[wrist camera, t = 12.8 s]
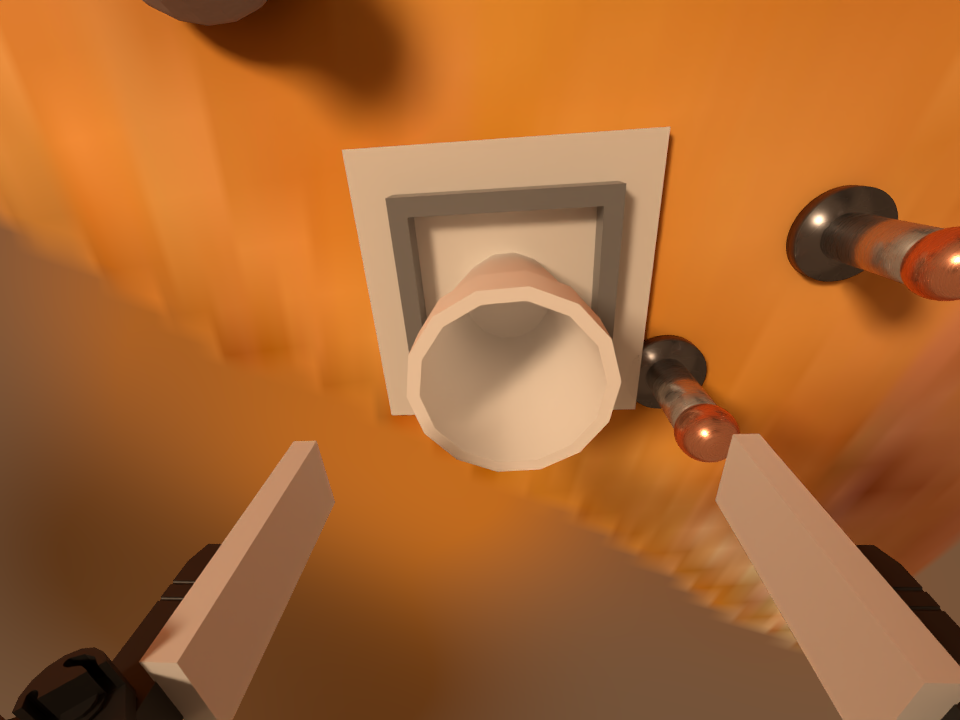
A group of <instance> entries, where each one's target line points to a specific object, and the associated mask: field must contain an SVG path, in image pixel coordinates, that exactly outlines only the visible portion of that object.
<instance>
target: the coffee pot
mask: <svg viewBox="0 0 960 720" xmlns="http://www.w3.org/2000/svg"><path fill="white" fill-rule="evenodd" d="M143 1H144V2H145V3H146V4H148V5H149V6H151V7H153V8H155V9H157V10H159V11H161V12H163V13H165V14H167V15H169V16H171V17H173V18H175V19H177V20H180V21H185V22H191V23H196V24H202V25H207V26H211V25H217V24H224V23H231V22H237V21H239V20H240V19H242V18H244V17H246V16H247V15H249V14H251V13H253V12H255V11H256V10H258V9H260V8H261V7H262V6H263V5H264V4H265V3H266V2H267V0H143Z"/></svg>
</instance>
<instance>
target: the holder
mask: <svg viewBox="0 0 960 720" xmlns="http://www.w3.org/2000/svg"><path fill="white" fill-rule="evenodd" d="M669 134H670V127H658V128H644V129H630V130H616V131H602V132H588V133H573V134H559V135H545V136H531V137H517V138H503V139H489V140H474V141H460V142H446V143H432V144H418V145H404V146H390V147H375V148H361V149H347V150H342V153H343V158H344V164H345V169H346V174H347V180H348V185H349V190H350V196H351V201H352V206H353V211H354V217H355V222H356V227H357V233H358V238H359V243H360V249H361V254H362V259H363V265H364V270H365V275H366V281H367V286H368V291H369V296H370V302H371V307H372V312H373V318H374V323H375V328H376V334H377V339H378V344H379V350H380V355H381V360H382V365H383V371H384V376H385V381H386V387H387V392H388V397H389V403H390V408H391V413H392V415H415V413H414V411H413V409H412V407H411V405H410V403H409V401H408V399H407V374H408V355H409V353H410V351H411V348H412V346H413V344H414V342H415V339H416V337H417V335H418V333H419V331H420V330H421V328H422V326H423V325H424V323H425V322H426V320H427V318H428V317H429V315H430V313H431V312H432V310H433V309H434V307H435V305H436V304H437V302H438V300H439V299H440V298H441V297H443V296H445V295H446V294H448V293H450V292H451V291H453V290H454V289H455V287H456V286H457V285H458V284H459V283H460V282H461V281H462V280H463V279H464V277H465V276H466V275H467V274H468V273H469V272H470V271H471V270H472V269H473V267H474V266H475V265H476V264H478V263H480V262H481V261H483V260H485V259H486V258H488V257H489V256H491V255H493V254H497V253H507V252H516V253H519V254H522V255H524V256H527V257H530V258H533V259H534V260H536V261H537V262H538V263H539V264H540V265H541V266H542V267H543V268H544V269H545V270H547V271H548V272H549V273H550V274H551V275H552V276H553V277H554V278H555V279H556V280H557V281H558V282H560V283H562V284H565V285H568V286H570V287H571V288H572V289H573V290H574V291H575V292H576V293H577V294H578V295H579V296H580V297H581V298H582V300H583V301H584V302H585V303H586V304H587V305H588V306H589V307H590V308H591V309H592V310H593V311H594V313H595V314H596V315H597V316H598V317H599V318H600V319H601V321H602V323H603V325H604V326H605V328H606V330H607V332H608V333H609V335H610V337H611V339H612V342H613V347H614V351H615V355H616V360H617V364H618V369H619V373H620V377H621V385H620V388H619V391H618V395H617V398H616V401H615V404H614V408H613V410H620V409H635V406H636V399H635V398H636V397H637V392H636V391H637V390H638V382H639V374H640V366H641V358H642V350H643V342H644V334H645V326H646V318H647V310H648V302H649V294H650V286H651V278H652V270H653V262H654V254H655V246H656V238H657V230H658V222H659V214H660V206H661V198H662V190H663V182H664V174H665V166H666V158H667V150H668V142H669ZM637 355H638V356H637ZM635 357H636V358H635ZM637 358H638V359H639V361H637V360H638V359H637ZM633 360H634V361H633ZM635 370H636V371H635ZM634 372H635V373H634ZM628 375H629V376H628ZM637 377H638V378H637ZM635 378H636V379H635ZM633 380H634V381H633ZM629 384H630V385H629ZM628 389H629V390H628ZM633 390H634V391H633ZM632 396H633V397H632ZM633 398H634V399H633Z"/></svg>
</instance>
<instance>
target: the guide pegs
mask: <svg viewBox="0 0 960 720" xmlns="http://www.w3.org/2000/svg"><path fill="white" fill-rule="evenodd" d="M786 251H787V256H788V259H789V261H790V263H791V265H792V266H793V267H794V268H795V269H796V270H797V271H798V272H800V273H802V274H804V275H806V276H808V277H811V278H813V279H816V280H819V281H839V280H843V279H846V278H850V277H852V276H854V275H856V274H858V273H860V272H862V271H864V270H865V271H868V272H871V273H874V274H877V275H880V276H882V277H885V278H888V279H891V280H894V281H897V282H900V283H903V284H904V285H905V286H906V287H907V288H908V289H909V290H910V291H912V292H913V293H915V294H917V295H919V296H921V297H923V298H927V299H930V300H937V301H954V300H960V226H958V227H950V228H945V229H944V228H939V227H933V226H928V225H923V224H917V223H912V222H907V221H901V220H898V212H897V208H896V205H895V203H894V201H893V199H892V198H891V197H890V196H889V195H888V194H887V193H886V192H884V191H882V190H880V189H877V188H874V187H867V186H858V185H847V186H841V187H837V188H834V189H831V190H829V191H827V192H825V193H823V194H821V195H819V196H818V197H816V198H815V199H814V200H812V201H811V202H810V203H809V204H808V205H807V206H805V207H804V209H803V210H802V211H801V212H800V213H799V214H798V216H797V217H796V219H795V220H794V222H793V224H792V226H791V228H790V230H789V233H788V237H787V242H786ZM637 356H638V355H637ZM635 358H636V357H635ZM637 359H638V358H637ZM633 361H634V360H633ZM637 361H639V359H638V360H637ZM635 371H636V370H635ZM634 373H635V372H634ZM628 376H629V375H628ZM705 376H706V361H705V359H704V357H703V355H702V353H701V352H700V351H699V350H698V349H697V348H696V347H695V346H694V345H693V344H692V343H691V342H690V341H688V340H687V339H685V338H682V337H679V336H674V335H662V336H657V337H653V338H650V339H648V340H646V341H644V342H643V350H642V358H641V366H640V374H639V382H638V390H637V391H636V392H637V397H636V398H635V399H636V401H637V402H638V403H640V404H642V405H644V406H646V407H650V408H662V410H663V412H664V413H665V415H666V416H667V418H668V420H669V421H670V423H671V425H672V426H673V428H674V436H675V440H676V442H677V444H678V446H679V447H680V449H681V450H682V451H683V452H684V453H685V454H686V455H688V456H689V457H691V458H693V459H695V460H698V461H701V462H718V461H721V460H724V459H726V458H727V455H728V451H729V447H730V443H731V439H732V436H733V434H740V431H739V427H738V424H737V422H736V420H735V419H734V417H733V416H732V415H731V414H730V413H729V412H728V411H726V410H725V409H723V408H721V407H719V406H717V405H716V404H715V403H714V401H713V400H712V399H711V398H710V397H709V395H708V394H707V393H706V392H705V390H704V389H703V388H702V387H701V386H702V384H703V382H704V379H705ZM637 378H638V377H637ZM635 379H636V378H635ZM633 381H634V380H633ZM629 385H630V384H629ZM628 390H629V389H628ZM633 391H634V390H633ZM632 397H633V396H632ZM633 399H634V398H633Z"/></svg>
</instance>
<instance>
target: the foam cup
mask: <svg viewBox="0 0 960 720" xmlns="http://www.w3.org/2000/svg"><path fill="white" fill-rule="evenodd" d="M620 385H621V377H620V373H619V369H618V364H617V360H616V355H615V351H614V347H613V342H612V339H611V337H610V335H609V333H608V332H607V330H606V328H605V326H604V325H603V323H602V321H601V319H600V318H599V317H598V316H597V315H596V314H595V313H594V311H593V310H592V309H591V308H590V307H589V306H588V305H587V304H586V303H585V302H584V301H583V300H582V298H581V297H580V296H579V295H578V294H577V293H576V292H575V291H574V290H573V289H572V288H571V287H570V286H568V285H565V284H562V283H560V282H558V281H557V280H556V279H555V278H554V277H553V276H552V275H551V274H550V273H549V272H548V271H547V270H545V269H544V268H543V267H542V266H541V265H540V264H539V263H538V262H537V261H536V260H534V259H533V258H530V257H527V256H524V255H522V254H519V253H516V252H507V253H497V254H493V255H491V256H489V257H488V258H486V259H485V260H483V261H481V262H480V263H478V264H476V265H475V266H474V267H473V269H472V270H471V271H470V272H469V273H468V274H467V275H466V276H465V277H464V279H463V280H462V281H461V282H460V283H459V284H458V285H457V286H456V287H455V289H454V290H453V291H451V292H450V293H448V294H446V295H445V296H443V297H441V298H440V299H439V300H438V302H437V304H436V305H435V307H434V309H433V310H432V312H431V313H430V315H429V317H428V318H427V320H426V322H425V323H424V325H423V326H422V328H421V330H420V331H419V333H418V335H417V337H416V339H415V342H414V344H413V346H412V348H411V351H410V353H409V355H408V374H407V399H408V401H409V403H410V405H411V407H412V409H413V411H414V413H415V415H416V417H417V419H418V421H419V423H420V425H421V427H422V429H423V431H424V433H425V434H426V435H427V436H428V437H430V438H431V439H432V440H433V441H435V442H436V443H437V444H438V445H440V446H441V447H442V448H443V449H445V450H446V451H447V452H448V453H450V454H451V455H452V456H453V457H455V458H456V459H458V460H461V461H464V462H468V463H471V464H474V465H477V466H481V467H484V468H487V469H491V470H494V471H497V472H498V471H517V470H535V469H542V468H544V467H547V466H549V465H551V464H554V463H556V462H558V461H561V460H563V459H565V458H567V457H570V456H572V455H574V454H577V453H579V452H580V451H581V450H582V449H583V448H584V447H585V446H586V445H587V444H588V443H589V442H590V441H591V440H592V439H593V438H594V437H595V436H596V435H597V434H598V433H599V432H600V431H601V430H602V429H603V428H604V427H605V425H606V424H607V423H608V422H609V420H610V417H611V414H612V411H613V408H614V404H615V401H616V398H617V395H618V391H619V388H620Z"/></svg>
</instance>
